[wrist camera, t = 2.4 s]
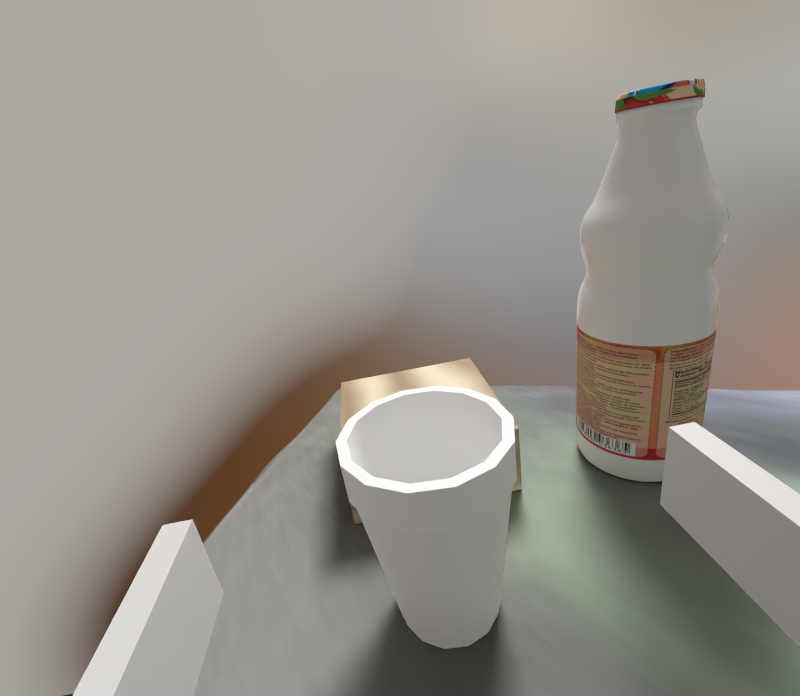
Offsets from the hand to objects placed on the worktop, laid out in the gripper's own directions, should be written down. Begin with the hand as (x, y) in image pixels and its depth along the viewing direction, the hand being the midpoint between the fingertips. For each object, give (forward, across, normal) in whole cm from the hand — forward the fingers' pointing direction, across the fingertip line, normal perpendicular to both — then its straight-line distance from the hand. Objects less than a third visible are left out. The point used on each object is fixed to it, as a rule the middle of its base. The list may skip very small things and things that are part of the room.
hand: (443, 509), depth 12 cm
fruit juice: (+20, +20, -17) cm, 33 cm away
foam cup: (+10, +1, -17) cm, 20 cm away
